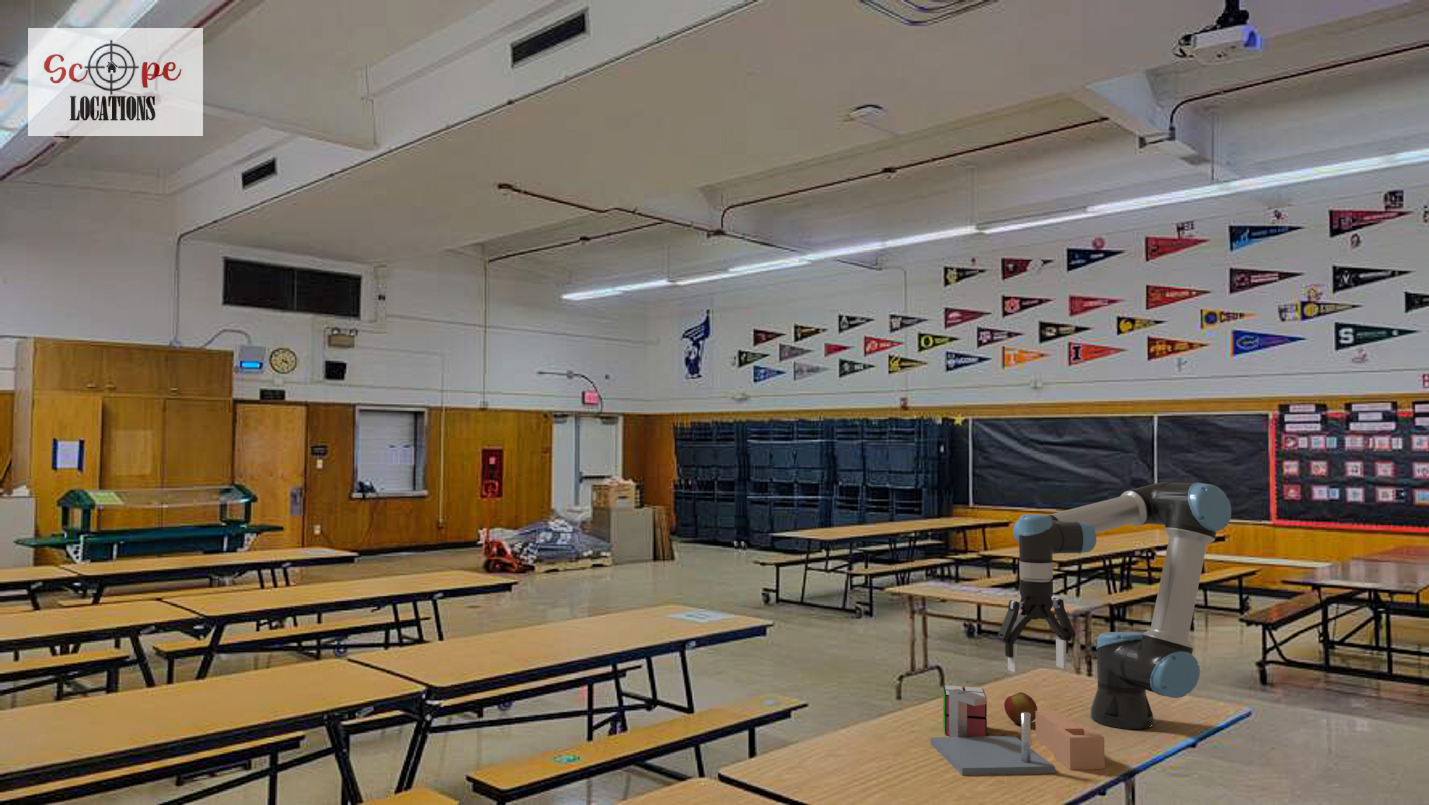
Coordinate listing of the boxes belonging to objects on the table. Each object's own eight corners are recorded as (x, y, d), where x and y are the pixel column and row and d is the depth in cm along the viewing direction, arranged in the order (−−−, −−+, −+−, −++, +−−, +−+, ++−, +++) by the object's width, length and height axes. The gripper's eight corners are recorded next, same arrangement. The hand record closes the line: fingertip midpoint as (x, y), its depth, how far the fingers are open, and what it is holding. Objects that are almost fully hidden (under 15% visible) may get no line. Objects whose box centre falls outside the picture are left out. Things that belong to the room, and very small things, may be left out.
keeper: (959, 738, 221) (959, 688, 222) (987, 749, 213) (986, 697, 214) (947, 740, 219) (947, 690, 220) (974, 751, 212) (974, 699, 212)
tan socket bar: (1029, 740, 220) (1029, 711, 221) (1061, 739, 221) (1061, 710, 222) (1070, 769, 200) (1069, 737, 200) (1104, 769, 201) (1104, 737, 201)
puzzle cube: (987, 739, 221) (986, 697, 222) (945, 736, 223) (945, 695, 224) (983, 726, 231) (983, 687, 232) (943, 724, 233) (943, 684, 234)
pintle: (1028, 766, 202) (1028, 712, 202) (1032, 769, 200) (1031, 714, 200) (1019, 766, 202) (1019, 712, 202) (1023, 769, 200) (1023, 714, 200)
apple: (1023, 718, 239) (1023, 687, 239) (1043, 727, 231) (1043, 695, 231) (998, 720, 236) (998, 689, 237) (1018, 730, 229) (1018, 698, 229)
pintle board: (1014, 742, 219) (1014, 736, 219) (1054, 773, 198) (1054, 766, 198) (930, 743, 217) (930, 737, 217) (962, 775, 196) (962, 768, 196)
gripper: (1069, 575, 223) (1070, 662, 221) (981, 579, 215) (982, 669, 214) (1090, 579, 215) (1091, 669, 214) (1000, 583, 208) (1001, 676, 207)
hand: (1037, 669), depth 214 cm, fingers open, 13 cm apart
